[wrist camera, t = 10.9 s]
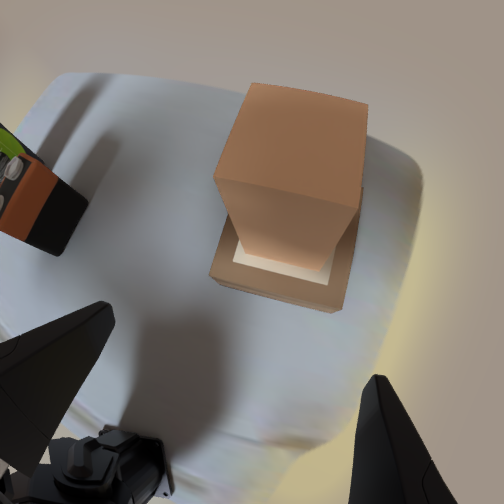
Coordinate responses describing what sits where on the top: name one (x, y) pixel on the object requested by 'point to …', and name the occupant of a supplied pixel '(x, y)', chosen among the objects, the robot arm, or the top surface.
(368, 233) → the top surface
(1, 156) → the beverage can
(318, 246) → the pillar block
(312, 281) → the foundation block
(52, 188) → the battery
